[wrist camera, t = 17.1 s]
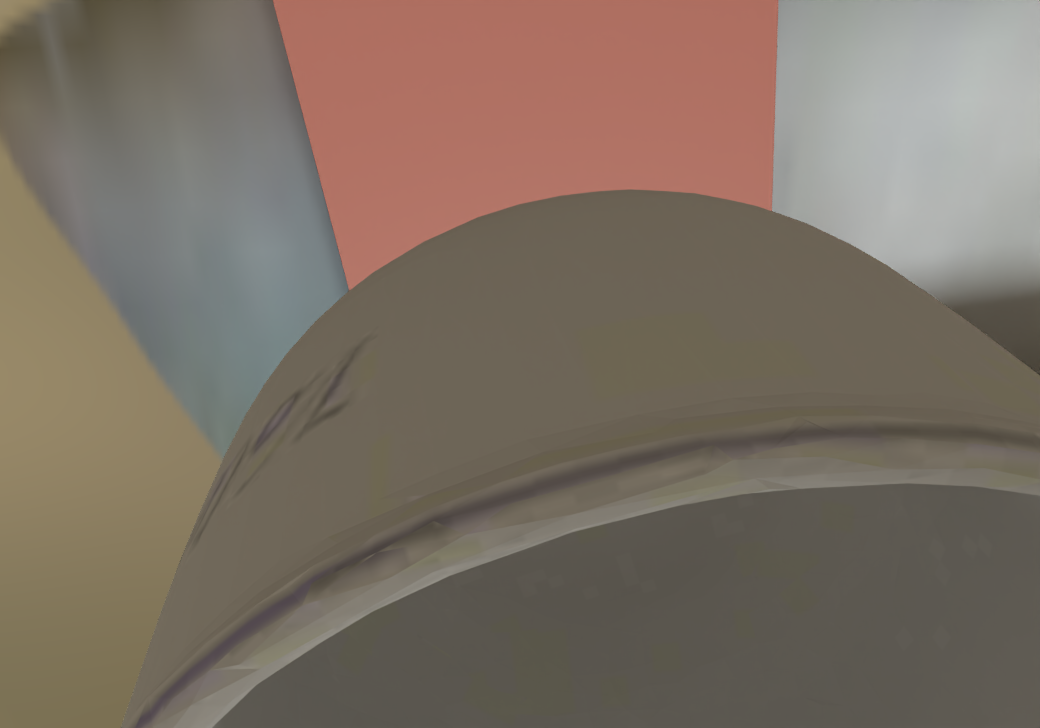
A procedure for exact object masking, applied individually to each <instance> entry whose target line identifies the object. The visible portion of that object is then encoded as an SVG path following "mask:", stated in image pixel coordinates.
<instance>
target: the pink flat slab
mask: <svg viewBox="0 0 1040 728" xmlns="http://www.w3.org/2000/svg"><path fill="white" fill-rule="evenodd" d="M273 3H274V6H275V10H276V14H277V18H278V22H279V25H280V29H281V33H282V37H283V41H284V44H285V48H286V52H287V56H288V60H289V63H290V67H291V71H292V75H293V79H294V82H295V86H296V90H297V94H298V98H299V101H300V105H301V109H302V113H303V117H304V120H305V124H306V128H307V132H308V135H309V139H310V143H311V147H312V151H313V154H314V158H315V162H316V166H317V170H318V173H319V177H320V181H321V185H322V189H323V192H324V196H325V200H326V204H327V208H328V211H329V215H330V219H331V223H332V227H333V230H334V234H335V238H336V242H337V246H338V249H339V253H340V257H341V261H342V265H343V268H344V272H345V276H346V280H347V284H348V287H349V291H350V290H351V289H352V288H354V287H355V286H356V285H357V284H359V283H360V282H361V281H363V280H364V279H365V278H367V277H368V276H369V275H370V274H372V273H373V272H374V271H376V270H378V269H379V268H381V267H383V266H384V265H386V264H388V263H389V262H391V261H393V260H394V259H396V258H398V257H399V256H401V255H403V254H404V253H406V252H408V251H409V250H411V249H413V248H414V247H416V246H417V245H419V244H421V243H422V242H424V241H427V240H429V239H431V238H433V237H435V236H438V235H440V234H442V233H444V232H446V231H449V230H451V229H453V228H455V227H457V226H460V225H462V224H464V223H466V222H468V221H471V220H473V219H475V218H477V217H481V216H484V215H487V214H490V213H493V212H496V211H499V210H503V209H506V208H509V207H512V206H515V205H518V204H523V203H528V202H533V201H538V200H542V199H547V198H552V197H557V196H562V195H570V194H579V193H587V192H597V191H609V190H629V189H633V190H654V191H671V192H685V193H696V194H701V195H707V196H712V197H717V198H722V199H727V200H733V201H737V202H741V203H746V204H750V205H754V206H758V207H761V208H764V209H767V210H770V211H772V185H773V153H774V122H775V90H776V58H777V26H778V0H273Z"/></svg>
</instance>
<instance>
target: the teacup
mask: <svg viewBox="0 0 1040 728" xmlns="http://www.w3.org/2000/svg"><path fill="white" fill-rule="evenodd" d="M121 728H1040V375H1039V374H1037V373H1036V372H1035V371H1033V370H1032V369H1031V368H1030V367H1028V366H1027V365H1026V364H1024V363H1023V362H1022V361H1020V360H1019V359H1018V358H1016V357H1015V356H1014V355H1012V354H1011V353H1010V352H1008V351H1007V350H1006V349H1004V348H1003V347H1002V346H1000V345H999V344H998V343H996V342H995V341H994V340H992V339H991V338H990V337H988V336H987V335H986V334H984V333H983V332H982V331H980V330H979V329H978V328H976V327H975V326H974V325H972V324H971V323H970V322H968V321H967V320H966V319H964V318H963V317H961V316H960V315H958V314H957V313H955V312H954V311H953V310H951V309H950V308H948V307H947V306H945V305H944V304H942V303H941V302H940V301H938V300H937V299H935V298H934V297H932V296H931V295H929V294H928V293H926V292H925V291H924V290H922V289H921V288H919V287H918V286H916V285H915V284H913V283H912V282H910V281H909V280H908V279H906V278H905V277H903V276H902V275H900V274H899V273H897V272H896V271H894V270H893V269H891V268H890V267H889V266H887V265H886V264H884V263H882V262H880V261H879V260H877V259H875V258H873V257H872V256H870V255H868V254H866V253H865V252H863V251H861V250H859V249H858V248H856V247H854V246H852V245H851V244H849V243H846V242H844V241H842V240H840V239H838V238H836V237H834V236H832V235H830V234H828V233H825V232H823V231H821V230H819V229H817V228H815V227H813V226H811V225H809V224H807V223H804V222H801V221H798V220H795V219H793V218H790V217H787V216H784V215H781V214H778V213H775V212H772V211H770V210H767V209H764V208H761V207H758V206H754V205H750V204H746V203H741V202H737V201H733V200H727V199H722V198H717V197H712V196H707V195H701V194H696V193H685V192H671V191H654V190H633V189H629V190H609V191H597V192H587V193H579V194H570V195H562V196H557V197H552V198H547V199H542V200H538V201H533V202H528V203H523V204H518V205H515V206H512V207H509V208H506V209H503V210H499V211H496V212H493V213H490V214H487V215H484V216H481V217H477V218H475V219H473V220H471V221H468V222H466V223H464V224H462V225H460V226H457V227H455V228H453V229H451V230H449V231H446V232H444V233H442V234H440V235H438V236H435V237H433V238H431V239H429V240H427V241H424V242H422V243H421V244H419V245H417V246H416V247H414V248H413V249H411V250H409V251H408V252H406V253H404V254H403V255H401V256H399V257H398V258H396V259H394V260H393V261H391V262H389V263H388V264H386V265H384V266H383V267H381V268H379V269H378V270H376V271H374V272H373V273H372V274H370V275H369V276H368V277H367V278H365V279H364V280H363V281H361V282H360V283H359V284H357V285H356V286H355V287H354V288H352V289H351V290H350V291H348V292H347V293H346V294H345V295H344V296H343V297H342V298H341V299H340V300H338V301H337V302H336V303H335V304H334V305H333V306H332V307H331V308H330V309H329V310H327V311H326V312H325V313H324V314H323V315H322V316H321V317H320V318H319V319H318V320H317V321H315V323H314V324H313V325H312V326H311V327H310V328H309V329H308V330H307V332H306V333H305V334H304V335H303V336H302V337H301V338H300V339H299V341H298V342H297V343H296V344H295V345H294V346H293V347H292V348H291V349H290V351H289V352H288V353H287V354H286V355H285V357H284V358H283V360H282V361H281V362H280V364H279V365H278V366H277V368H276V369H275V371H274V372H273V373H272V375H271V376H270V377H269V379H268V380H267V382H266V383H265V385H264V386H263V388H262V390H261V391H260V393H259V394H258V396H257V398H256V399H255V401H254V402H253V404H252V405H251V407H250V409H249V410H248V412H247V414H246V416H245V417H244V419H243V421H242V423H241V425H240V427H239V429H238V431H237V433H236V435H235V437H234V439H233V441H232V443H231V445H230V447H229V449H228V451H227V452H226V454H225V456H224V459H223V461H222V463H221V465H220V468H219V470H218V472H217V475H216V477H215V479H214V481H213V483H212V486H211V488H210V490H209V493H208V495H207V498H206V500H205V502H204V504H203V506H202V509H201V511H200V513H199V516H198V518H197V521H196V523H195V525H194V528H193V530H192V533H191V535H190V538H189V540H188V543H187V545H186V548H185V550H184V553H183V555H182V557H181V560H180V563H179V565H178V568H177V571H176V573H175V576H174V579H173V582H172V584H171V587H170V589H169V592H168V595H167V597H166V600H165V603H164V605H163V608H162V611H161V614H160V616H159V619H158V622H157V625H156V628H155V631H154V634H153V636H152V639H151V642H150V645H149V648H148V651H147V654H146V657H145V660H144V662H143V665H142V668H141V671H140V674H139V677H138V680H137V682H136V685H135V688H134V691H133V694H132V697H131V700H130V702H129V705H128V708H127V711H126V714H125V717H124V720H123V723H122V726H121Z"/></svg>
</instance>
